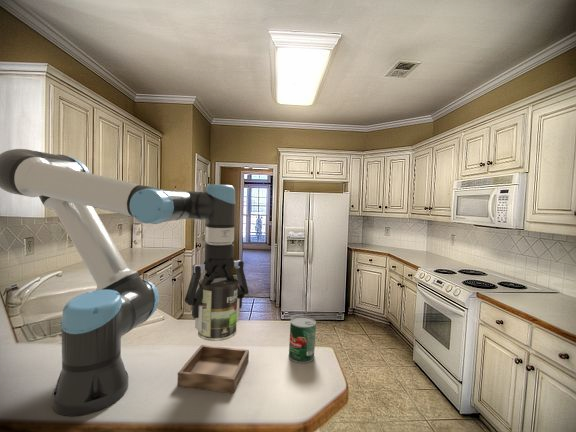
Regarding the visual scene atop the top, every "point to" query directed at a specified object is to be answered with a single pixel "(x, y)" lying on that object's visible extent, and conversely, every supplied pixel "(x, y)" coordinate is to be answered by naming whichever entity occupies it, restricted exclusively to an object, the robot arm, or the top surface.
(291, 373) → the top surface
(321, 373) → the top surface
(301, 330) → the canned tomato
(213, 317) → the coffee can
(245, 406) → the top surface
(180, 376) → the tray
